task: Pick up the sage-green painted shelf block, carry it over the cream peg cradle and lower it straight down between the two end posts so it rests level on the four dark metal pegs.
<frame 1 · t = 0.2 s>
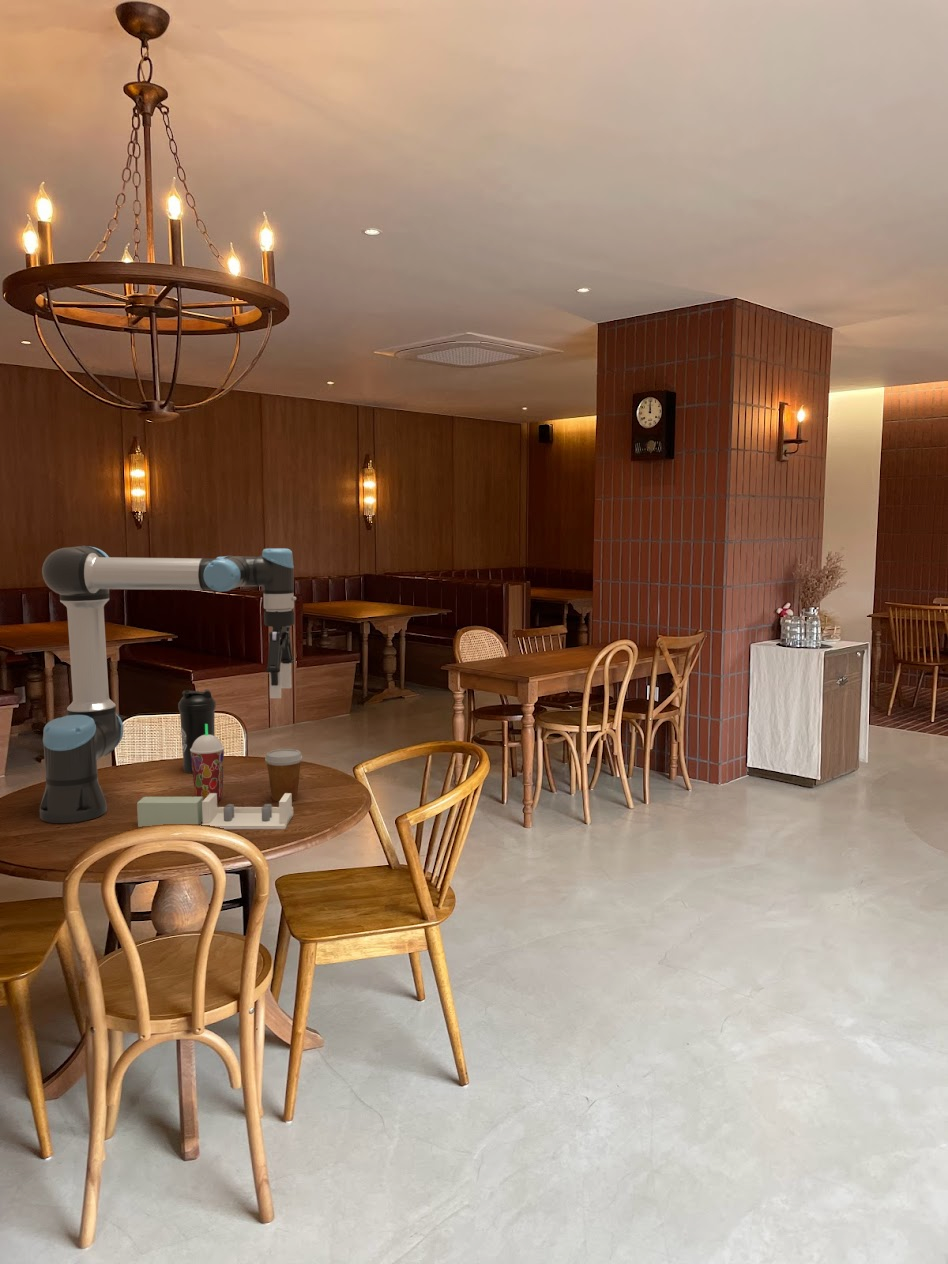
hand: (281, 693, 243), 28 cm above the table, fingers open, 13 cm apart
shelf block: (171, 824, 226), on the table
smoothie: (209, 801, 244), on the table
disposable coffee cup: (284, 799, 246), on the table
peg cradle: (248, 821, 227), on the table
water bottle: (199, 770, 274), on the table
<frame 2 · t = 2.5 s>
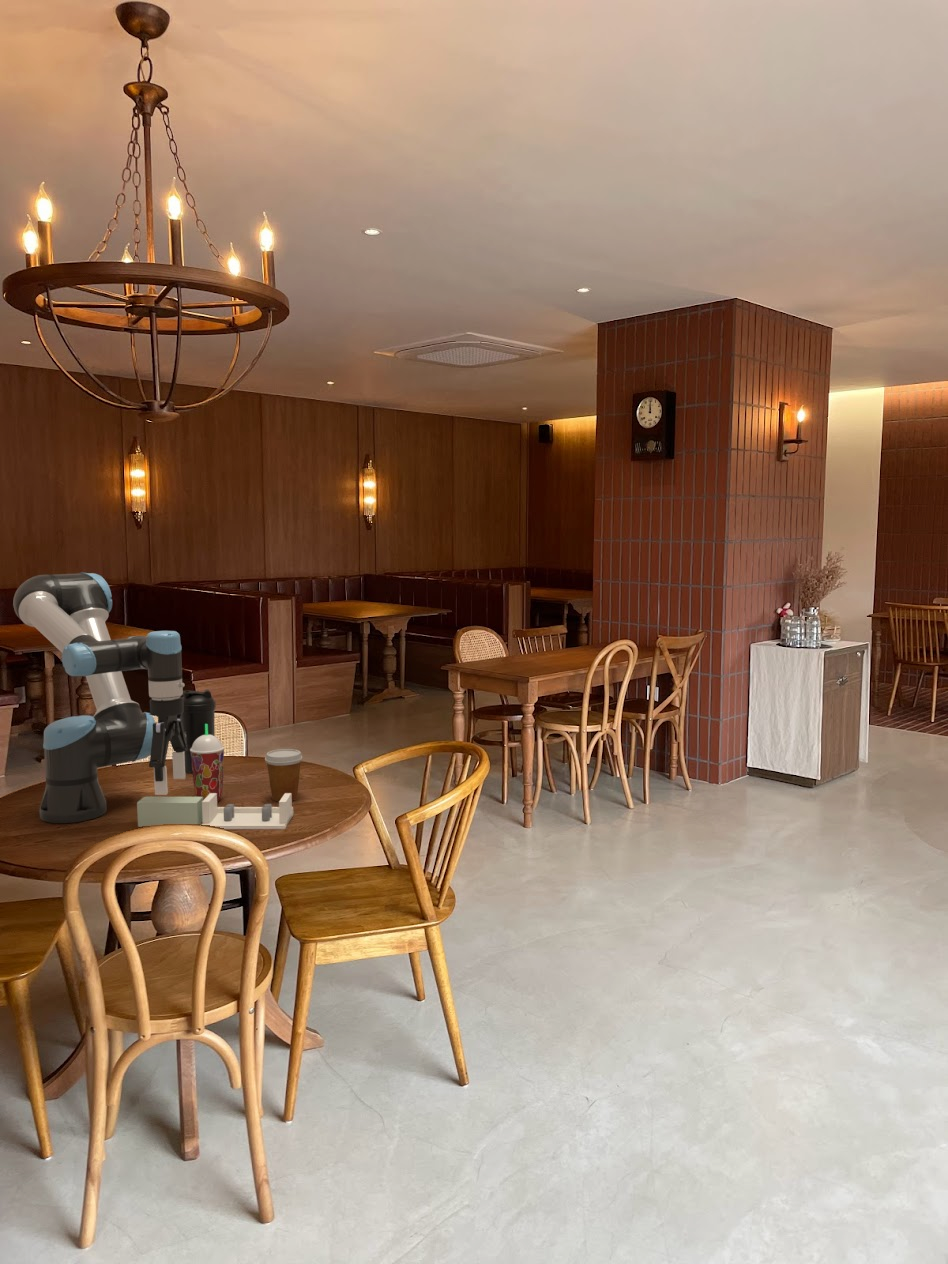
hand: (170, 786, 225), 9 cm above the table, fingers open, 13 cm apart
nothing on the table moved.
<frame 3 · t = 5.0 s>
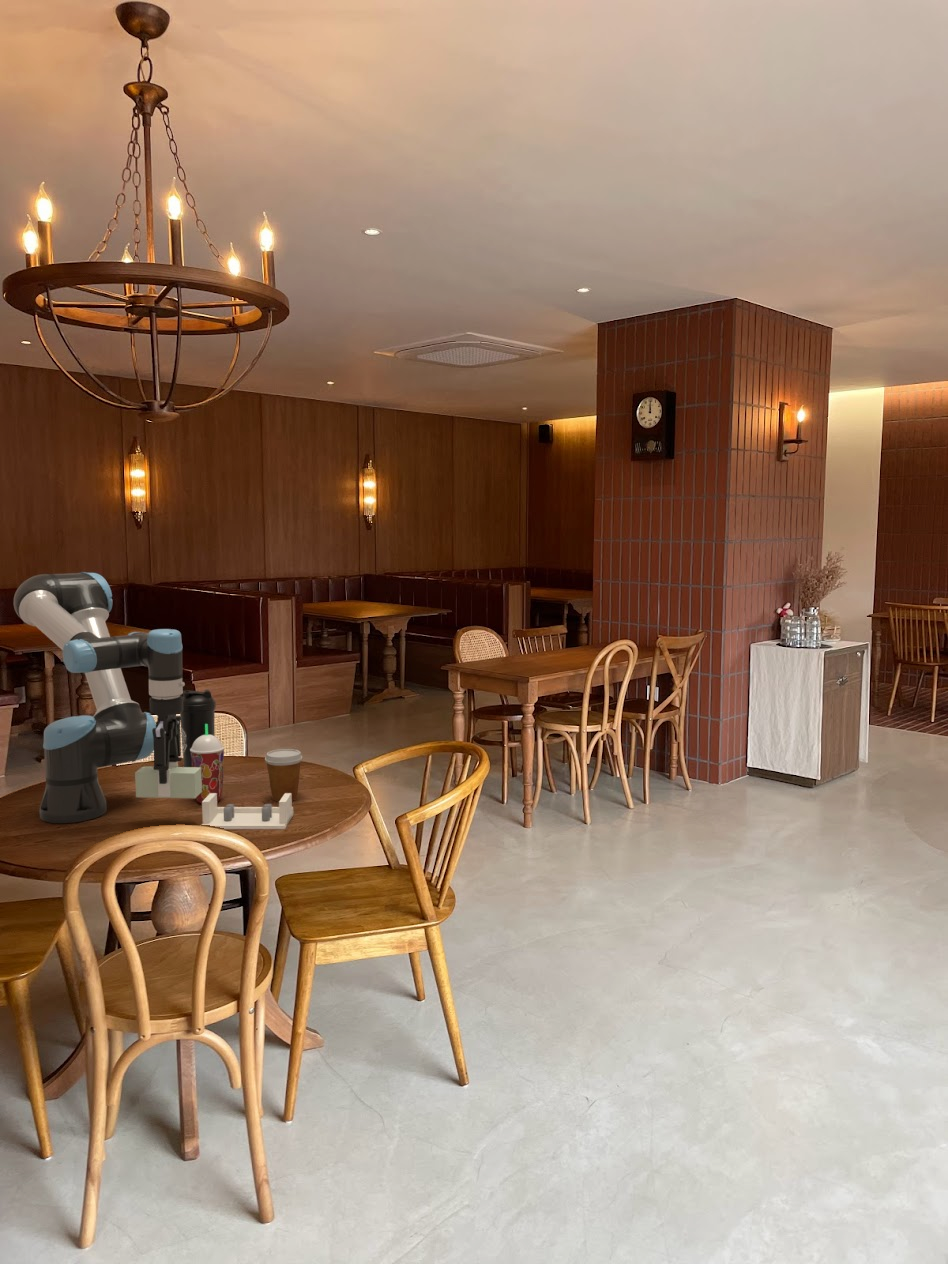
hand: (168, 792, 226), 7 cm above the table, fingers closed on shelf block, 5 cm apart
shelf block: (169, 794, 226), point 7 cm above the table, touching gripper
everything else where it was.
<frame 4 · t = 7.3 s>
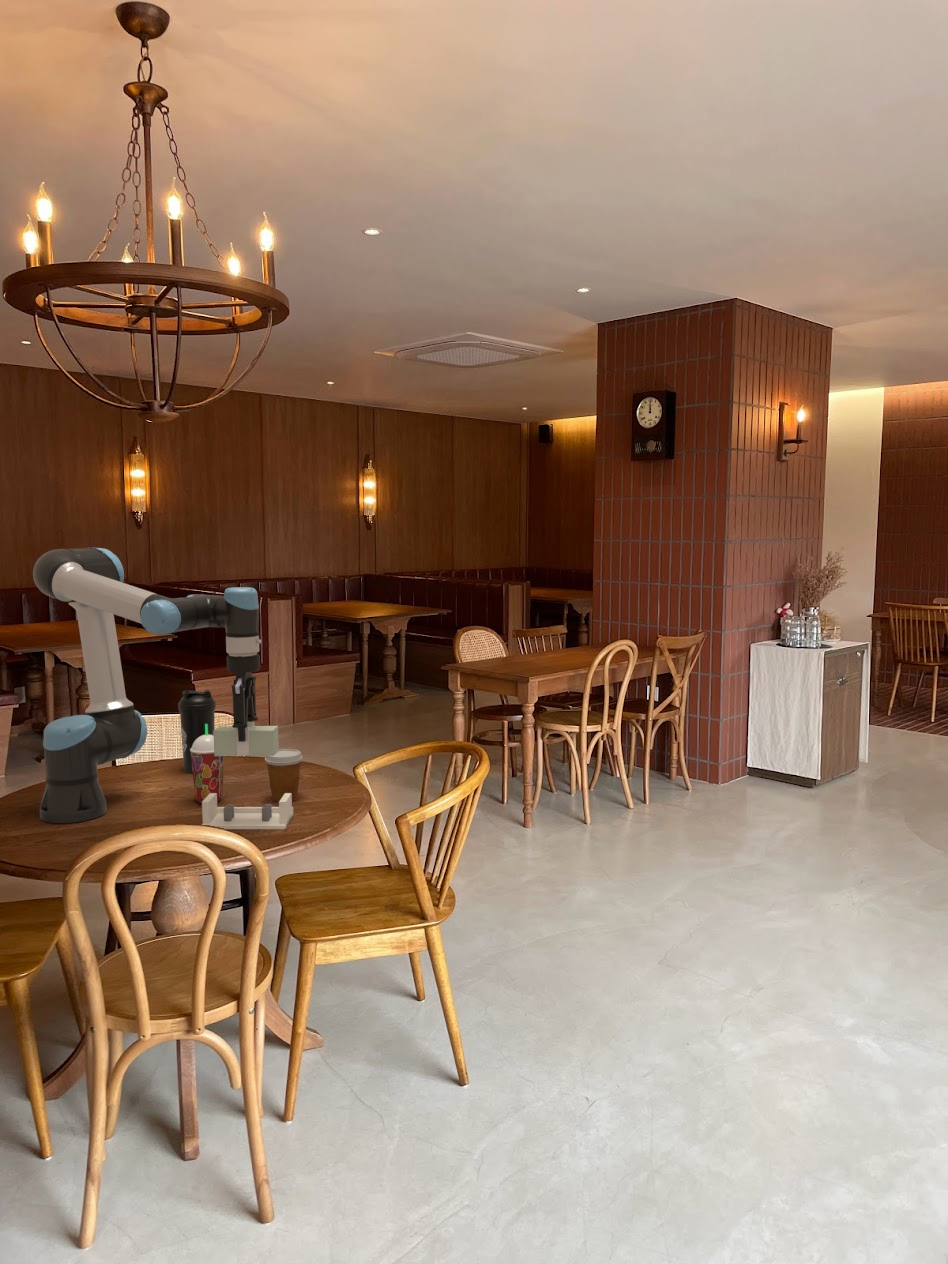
hand: (246, 751, 225), 17 cm above the table, fingers closed on shelf block, 5 cm apart
shelf block: (246, 753, 225), point 17 cm above the table, touching gripper
everything else where it was.
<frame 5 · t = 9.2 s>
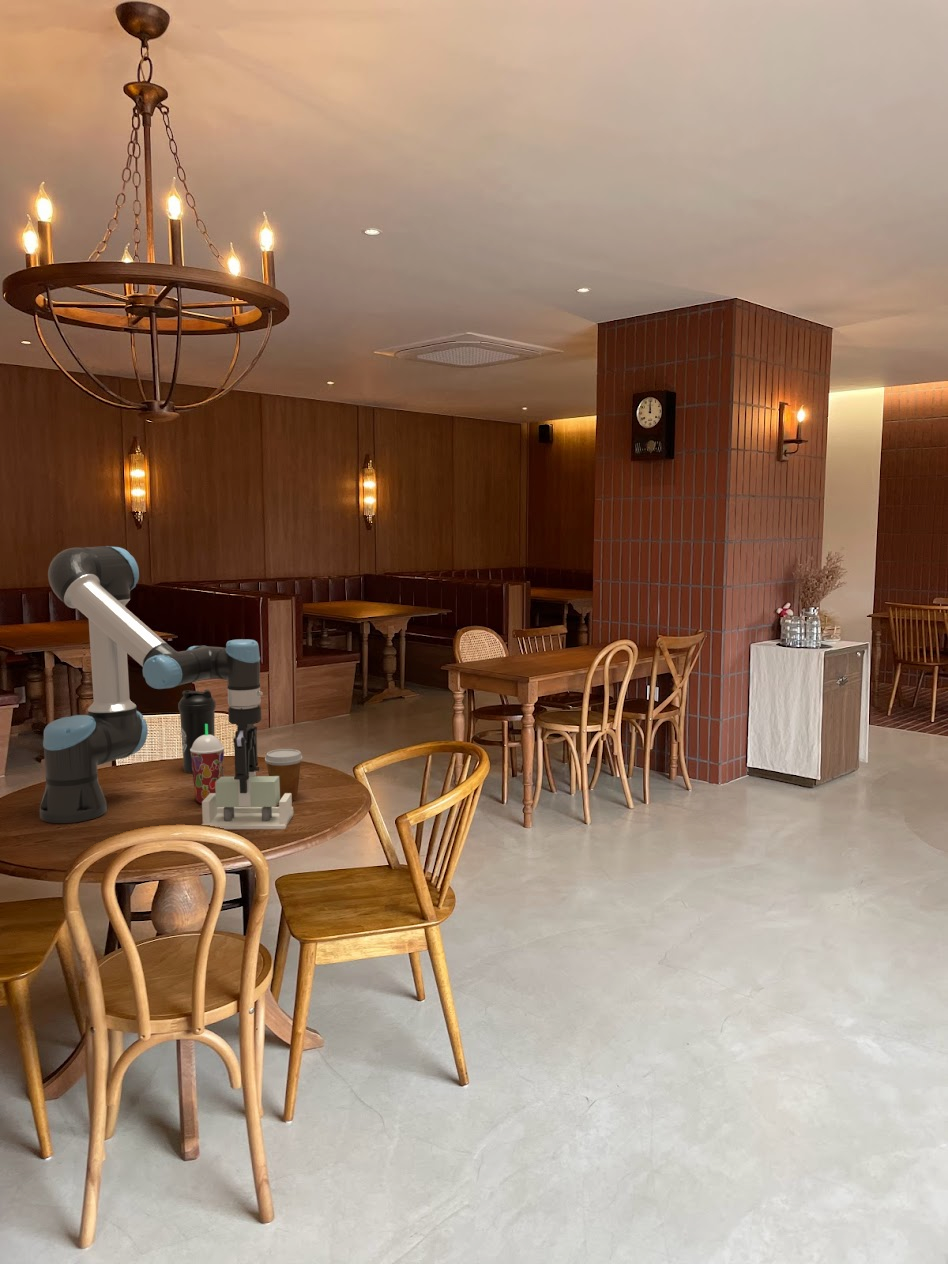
hand: (247, 801, 227), 5 cm above the table, fingers closed on shelf block, 5 cm apart
shelf block: (248, 803, 227), point 4 cm above the table, touching gripper
everything else where it was.
when the fingers open (4 cm above the table, at t = 9.9 s): shelf block stays where it is, resting on peg cradle.
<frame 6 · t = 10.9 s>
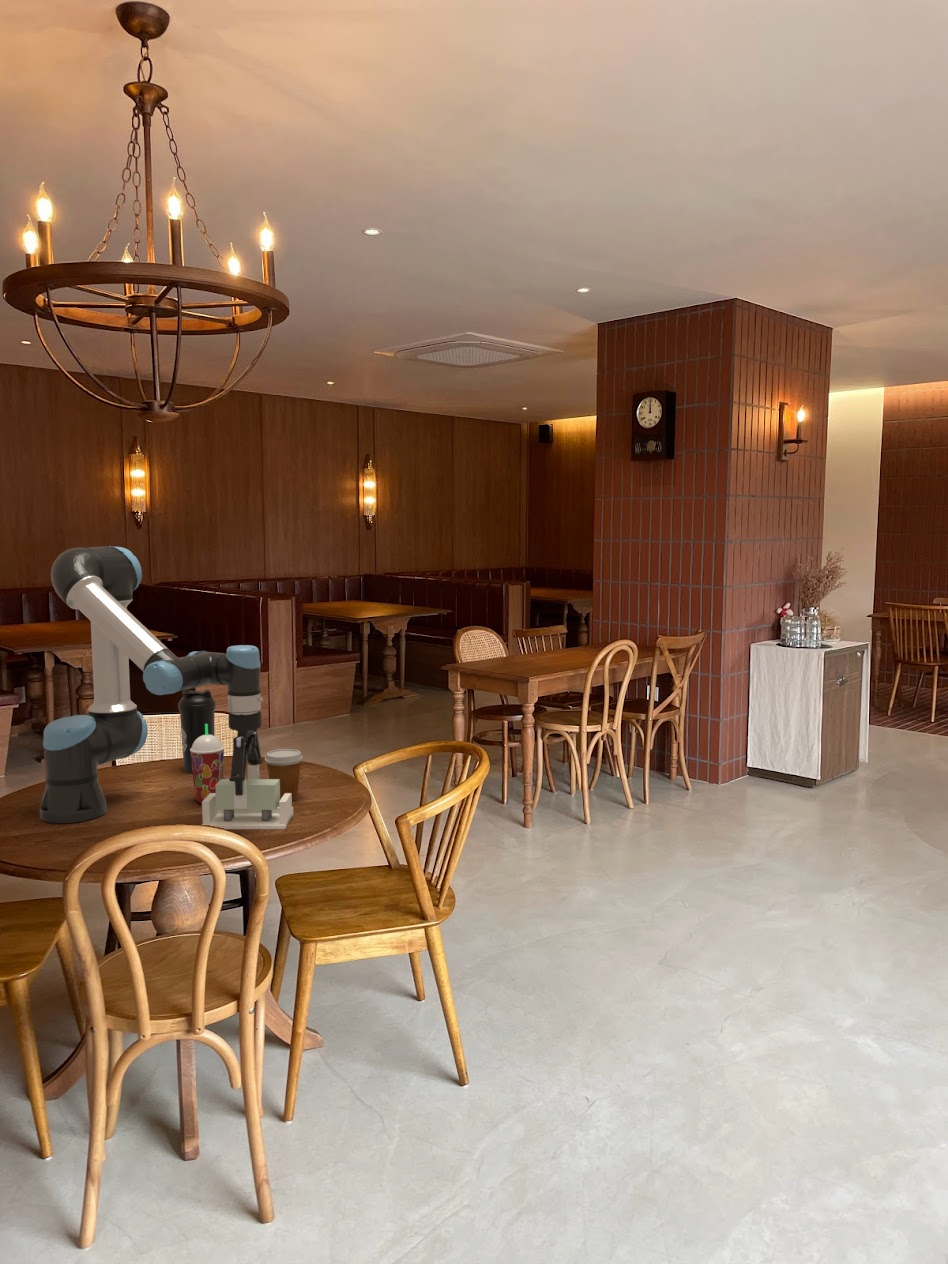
hand: (247, 799, 227), 6 cm above the table, fingers open, 13 cm apart
shelf block: (248, 806, 227), point 4 cm above the table, touching peg cradle
everything else where it was.
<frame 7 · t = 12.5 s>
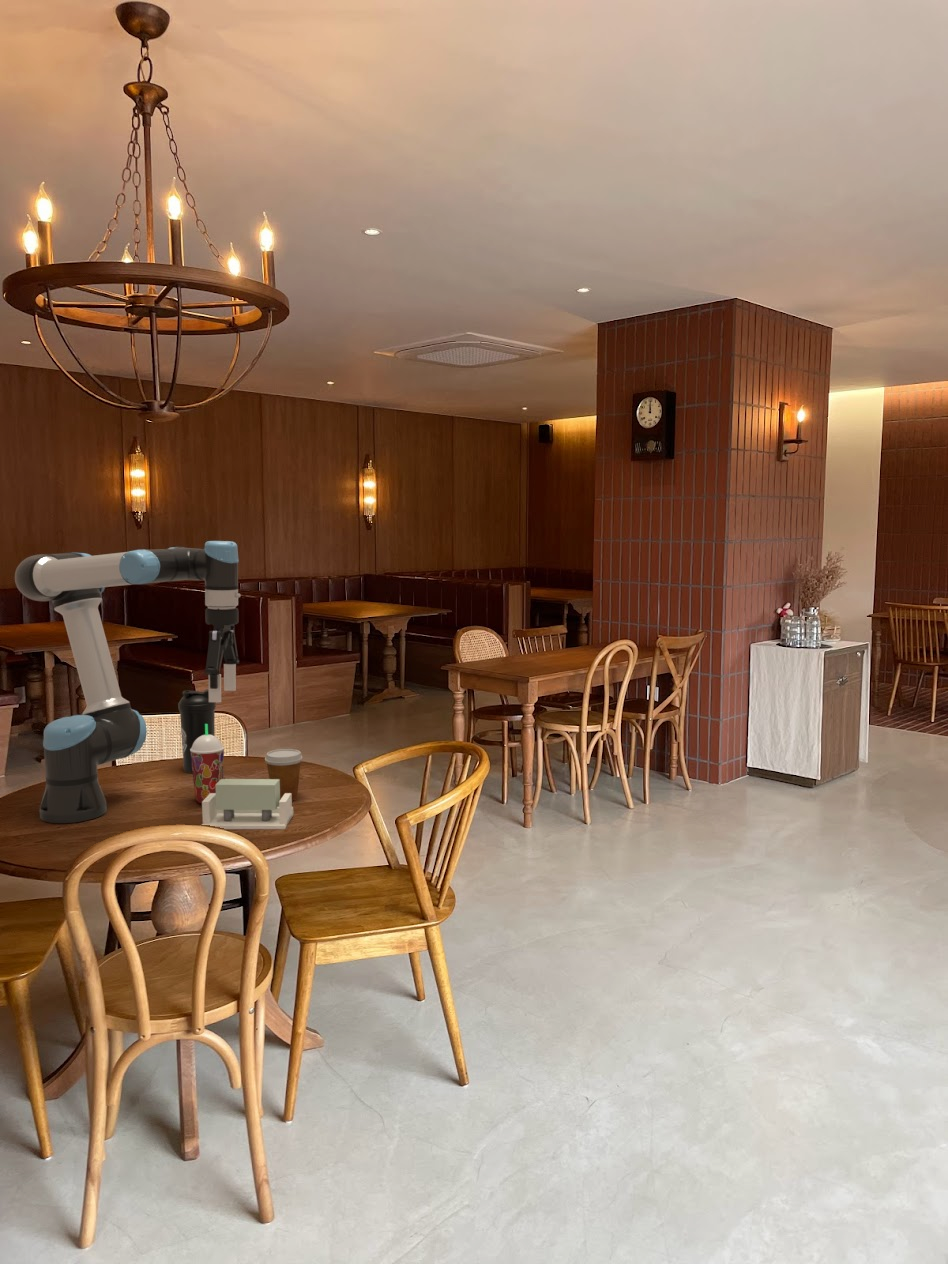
hand: (222, 696, 226), 30 cm above the table, fingers open, 13 cm apart
nothing on the table moved.
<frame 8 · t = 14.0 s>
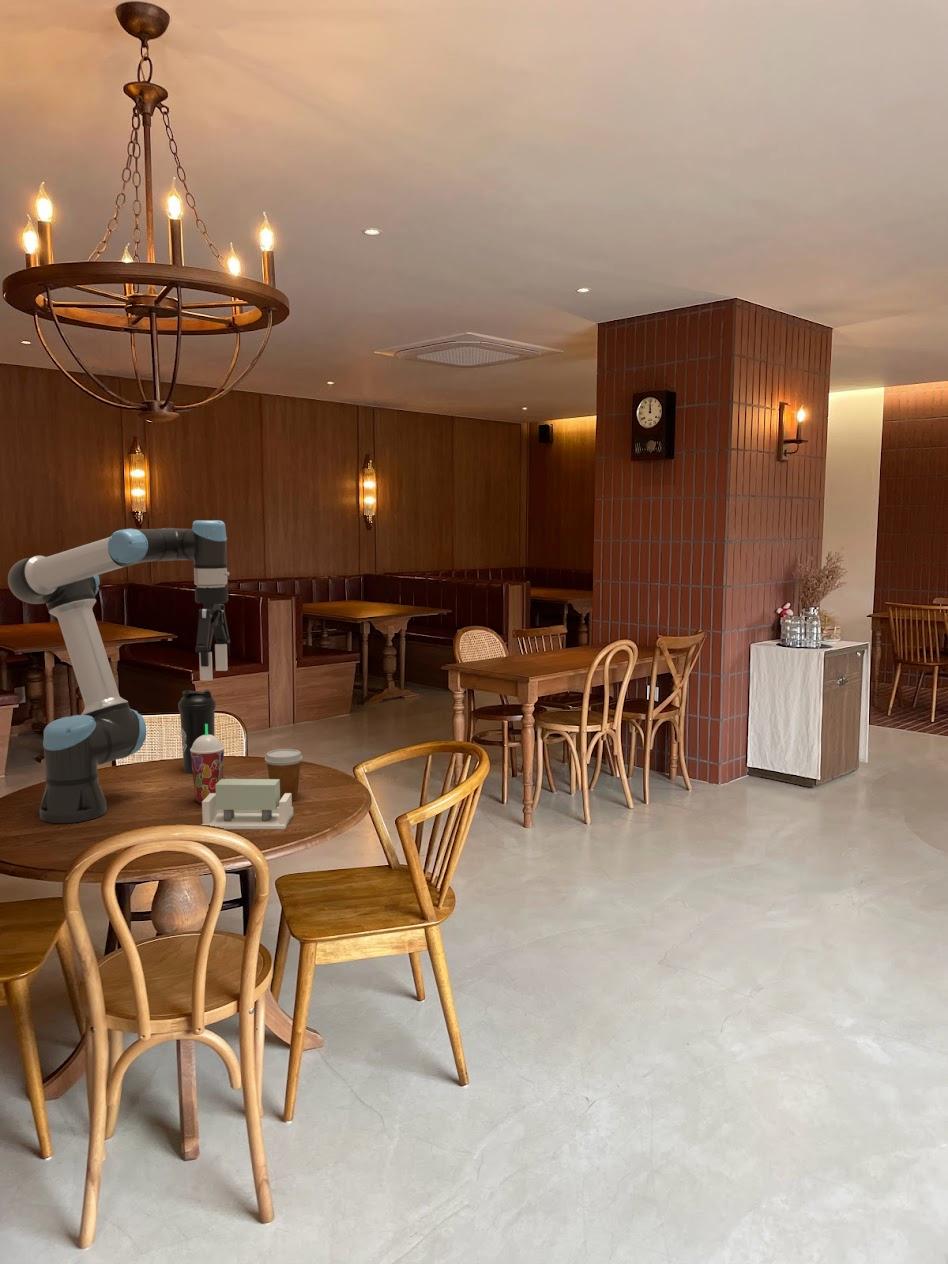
hand: (214, 675, 227), 35 cm above the table, fingers open, 13 cm apart
nothing on the table moved.
at the end: shelf block 0.2 cm off-centre on the peg cradle, point 3.8 cm above the peg cradle's base; shelf block tilted 0°; the gripper is holding nothing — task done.
